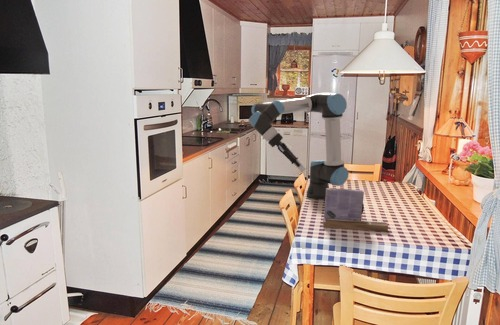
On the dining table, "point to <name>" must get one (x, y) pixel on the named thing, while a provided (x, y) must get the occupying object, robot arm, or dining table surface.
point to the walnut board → (355, 225)
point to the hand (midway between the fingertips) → (303, 170)
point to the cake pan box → (344, 204)
